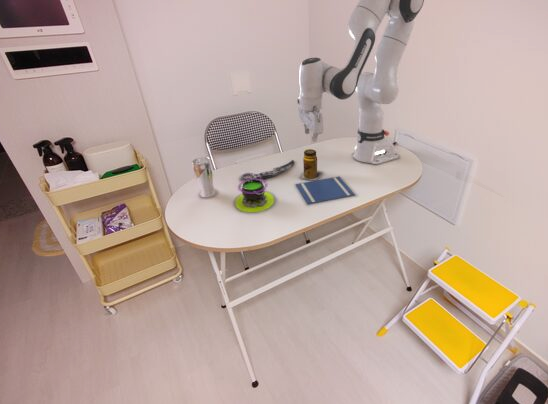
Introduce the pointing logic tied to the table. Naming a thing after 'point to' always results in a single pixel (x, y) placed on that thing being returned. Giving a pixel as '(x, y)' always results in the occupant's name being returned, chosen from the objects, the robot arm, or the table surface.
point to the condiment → (310, 165)
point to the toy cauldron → (254, 196)
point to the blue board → (324, 190)
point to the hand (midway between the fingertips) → (310, 137)
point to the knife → (269, 173)
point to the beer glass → (204, 176)
